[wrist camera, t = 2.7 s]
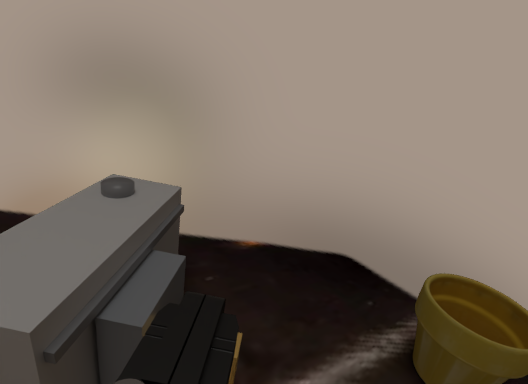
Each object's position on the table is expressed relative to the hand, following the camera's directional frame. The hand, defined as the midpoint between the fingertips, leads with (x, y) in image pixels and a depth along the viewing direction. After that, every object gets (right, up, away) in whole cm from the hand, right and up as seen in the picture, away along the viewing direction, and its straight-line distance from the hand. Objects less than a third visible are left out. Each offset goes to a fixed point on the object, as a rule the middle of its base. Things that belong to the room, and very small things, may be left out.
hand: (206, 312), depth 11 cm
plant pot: (+22, -16, +21) cm, 34 cm away
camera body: (-14, -10, +19) cm, 26 cm away
